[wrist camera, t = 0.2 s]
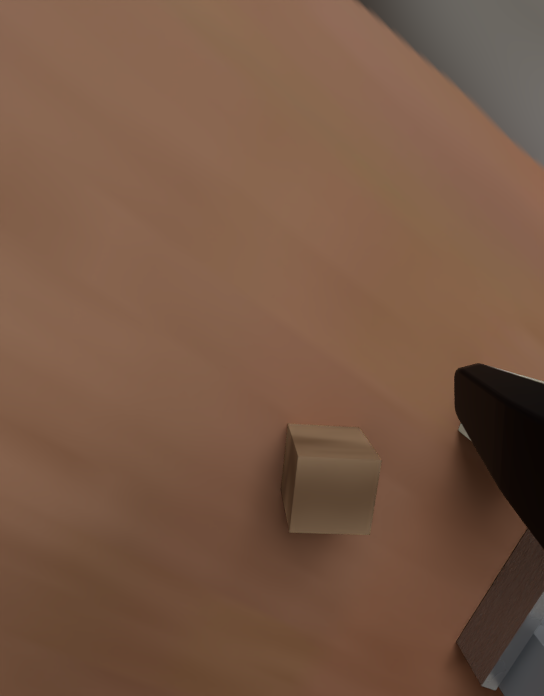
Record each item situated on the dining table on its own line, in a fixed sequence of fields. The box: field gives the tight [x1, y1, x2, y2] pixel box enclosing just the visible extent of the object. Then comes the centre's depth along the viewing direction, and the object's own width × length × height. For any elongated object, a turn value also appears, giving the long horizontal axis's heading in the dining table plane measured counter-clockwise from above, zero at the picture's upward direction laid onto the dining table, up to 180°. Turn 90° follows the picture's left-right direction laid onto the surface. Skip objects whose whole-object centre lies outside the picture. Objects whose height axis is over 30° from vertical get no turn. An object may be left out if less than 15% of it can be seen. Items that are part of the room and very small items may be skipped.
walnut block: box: [281, 424, 382, 535], centre depth 24 cm, size 4×4×4 cm
